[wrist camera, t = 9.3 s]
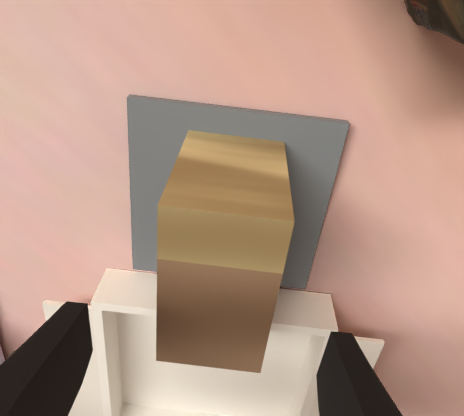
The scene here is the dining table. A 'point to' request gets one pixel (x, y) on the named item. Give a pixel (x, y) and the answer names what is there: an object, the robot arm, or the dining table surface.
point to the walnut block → (221, 250)
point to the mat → (236, 124)
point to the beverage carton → (439, 16)
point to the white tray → (199, 377)
